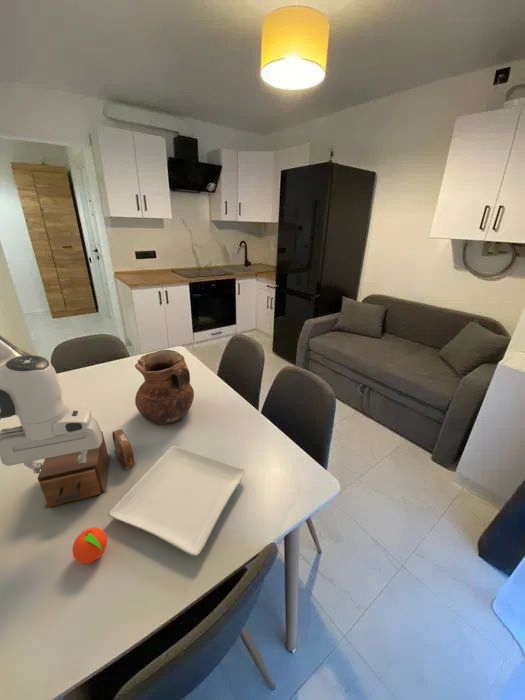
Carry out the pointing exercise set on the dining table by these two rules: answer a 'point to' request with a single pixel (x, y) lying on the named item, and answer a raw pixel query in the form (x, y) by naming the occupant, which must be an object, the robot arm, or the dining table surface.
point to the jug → (164, 387)
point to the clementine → (89, 545)
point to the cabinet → (77, 464)
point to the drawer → (70, 487)
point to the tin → (123, 448)
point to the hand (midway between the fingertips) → (61, 466)
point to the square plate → (180, 498)
